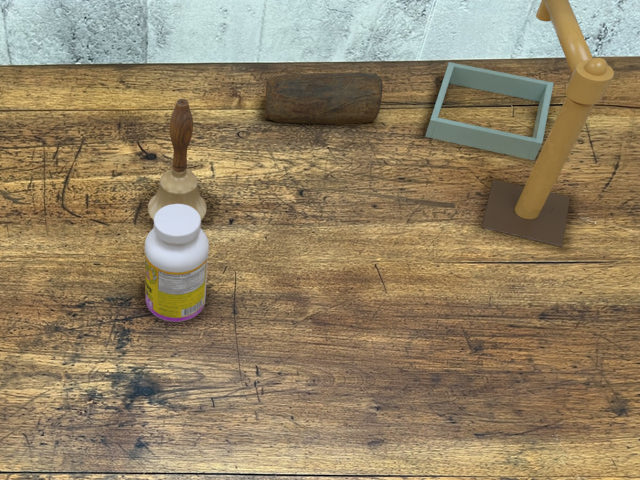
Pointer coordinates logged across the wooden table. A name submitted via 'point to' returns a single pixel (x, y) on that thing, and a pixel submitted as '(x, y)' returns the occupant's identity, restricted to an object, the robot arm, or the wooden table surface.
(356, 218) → the wooden table surface
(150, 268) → the supplement bottle
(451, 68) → the grey-green rectangular frame
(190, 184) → the hand bell
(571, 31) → the spout
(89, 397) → the wooden table surface
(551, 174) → the tap mount
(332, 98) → the dark brown wooden log
